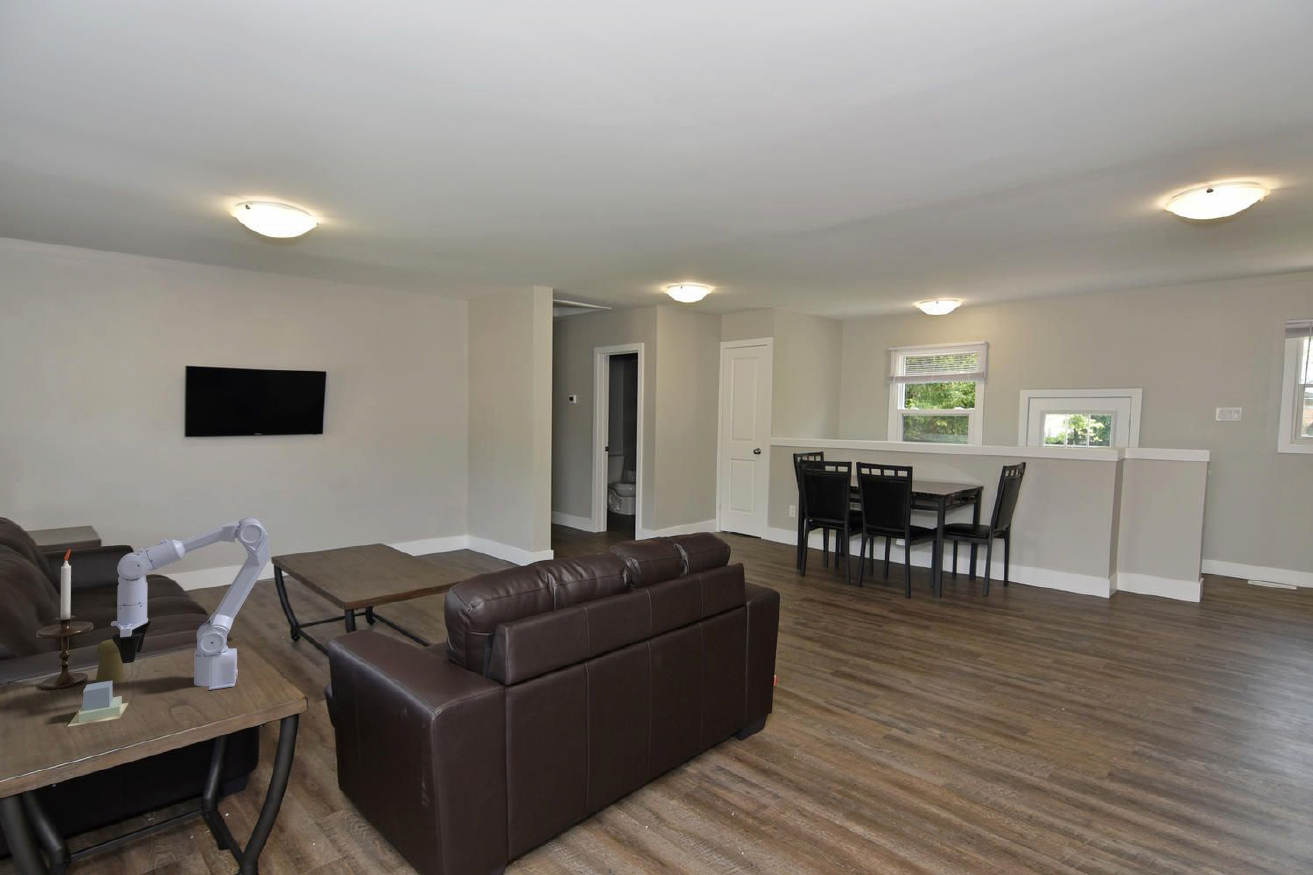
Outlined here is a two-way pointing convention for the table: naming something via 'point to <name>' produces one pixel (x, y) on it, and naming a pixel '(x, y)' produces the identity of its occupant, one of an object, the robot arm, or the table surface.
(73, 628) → the candlestick
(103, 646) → the olive tall rounded piece
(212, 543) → the robot arm
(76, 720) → the birch slab
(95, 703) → the blue cube
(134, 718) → the table surface
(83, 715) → the green block
